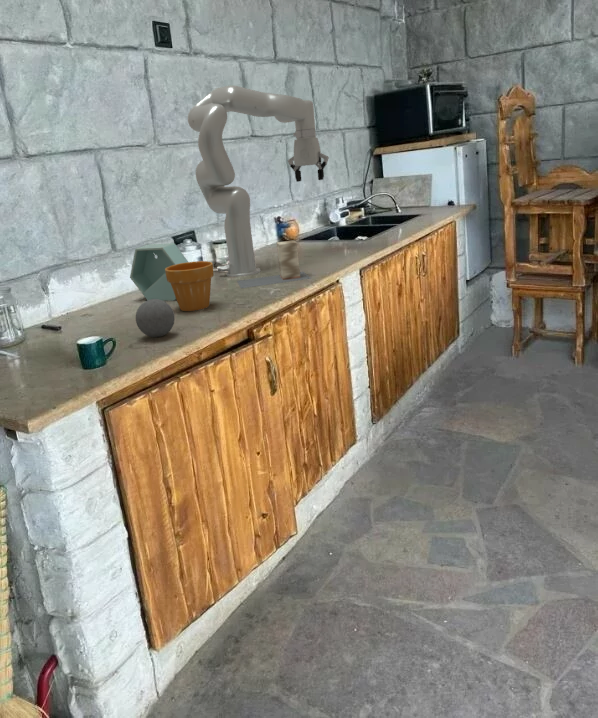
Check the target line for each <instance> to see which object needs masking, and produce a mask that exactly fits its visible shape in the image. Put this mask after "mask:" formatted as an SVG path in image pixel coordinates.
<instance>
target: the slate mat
mask: <svg viewBox="0 0 598 718" xmlns="http://www.w3.org/2000/svg"><path fill="white" fill-rule="evenodd" d="M311 279H312V277H310V275H308V274H307V273H306V272H305V271H300V278H294V279H287V280H283V279H282V278H281V277H280V274H276V275H269V276H262V277H255V278H247V279H240V280H236V283H237V284H238V286H239V288H240V289H247V288H254V287H261V286H268V285H274V284H283V283H289V282H298V281H305V280H311Z"/></svg>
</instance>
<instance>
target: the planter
mask: <svg viewBox="0 0 598 718" xmlns="http://www.w3.org/2000/svg"><path fill="white" fill-rule="evenodd" d="M156 256H157V258H156ZM186 262H189V261H188V259H187V258H186V257H185V255H184V254H183V252H181V250H180V249H179V247H178V246H177V244H176V243H173V242H171V243H153V244H152V243H151V244H145V245H143V246H140V247H136V248H135V249H134V253H133V259H132V263H131V269H130V275H129V278H130V280H131V281H132V282H133V283H134V285H135V286H136V287H137V289H138V291H140V293H141V294H142V295H143V297H144V298H145V299H146V301H147V300H151V299H159V300H162V301H164V302H166V301H167V302H168V301H169V302H170V301H172V302H173V301H177V299H176V297H175V294H174V291H173V288H172V286H171V283H170V282H168V281H167V278H166V272H165V269H166V268H167V267H169V266H172V265H176V264H180V263H186Z"/></svg>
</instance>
